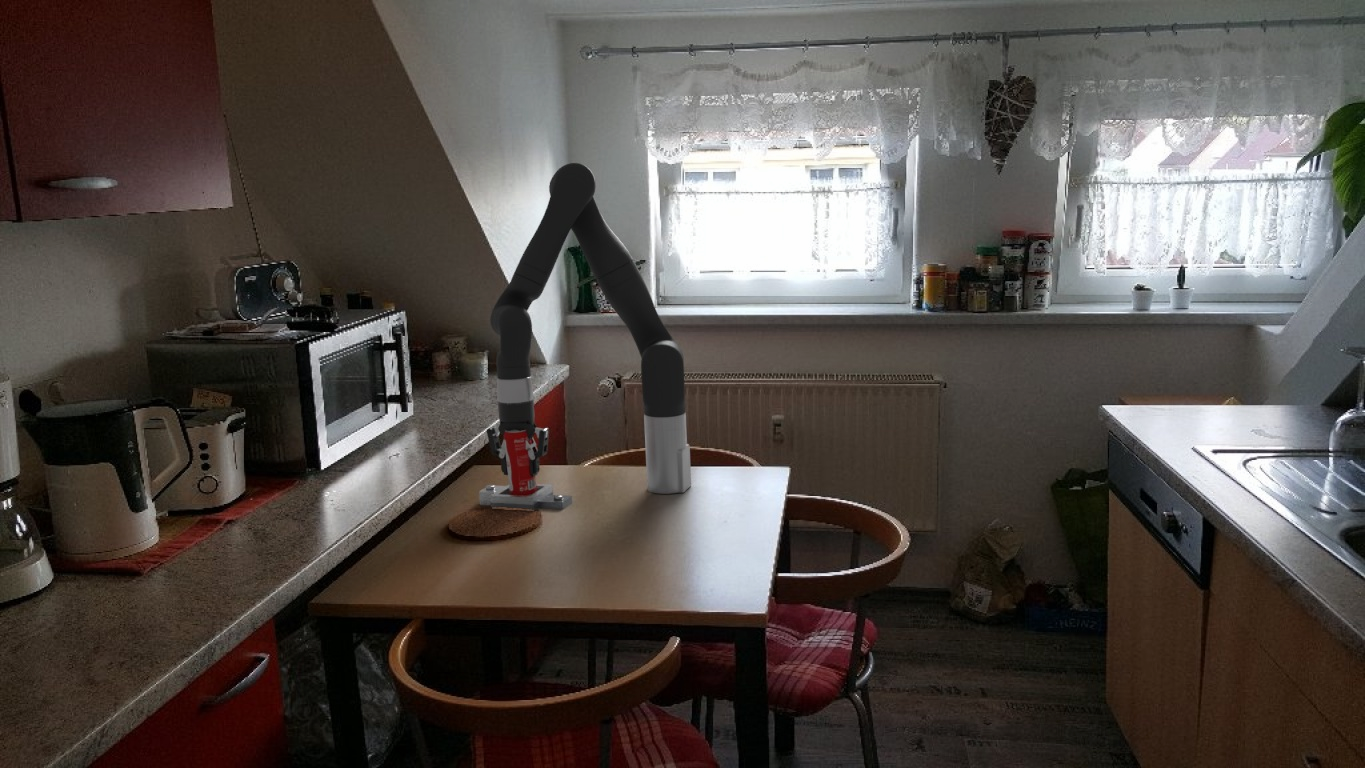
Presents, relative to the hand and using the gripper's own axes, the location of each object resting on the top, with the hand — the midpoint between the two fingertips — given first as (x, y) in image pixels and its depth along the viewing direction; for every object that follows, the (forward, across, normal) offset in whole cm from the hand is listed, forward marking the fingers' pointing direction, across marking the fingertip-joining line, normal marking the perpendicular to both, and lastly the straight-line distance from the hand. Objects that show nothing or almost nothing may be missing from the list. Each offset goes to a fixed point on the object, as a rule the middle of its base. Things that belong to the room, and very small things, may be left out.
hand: (520, 474), depth 210 cm
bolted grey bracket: (+6, 0, 0) cm, 6 cm away
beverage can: (+5, 0, 0) cm, 5 cm away
